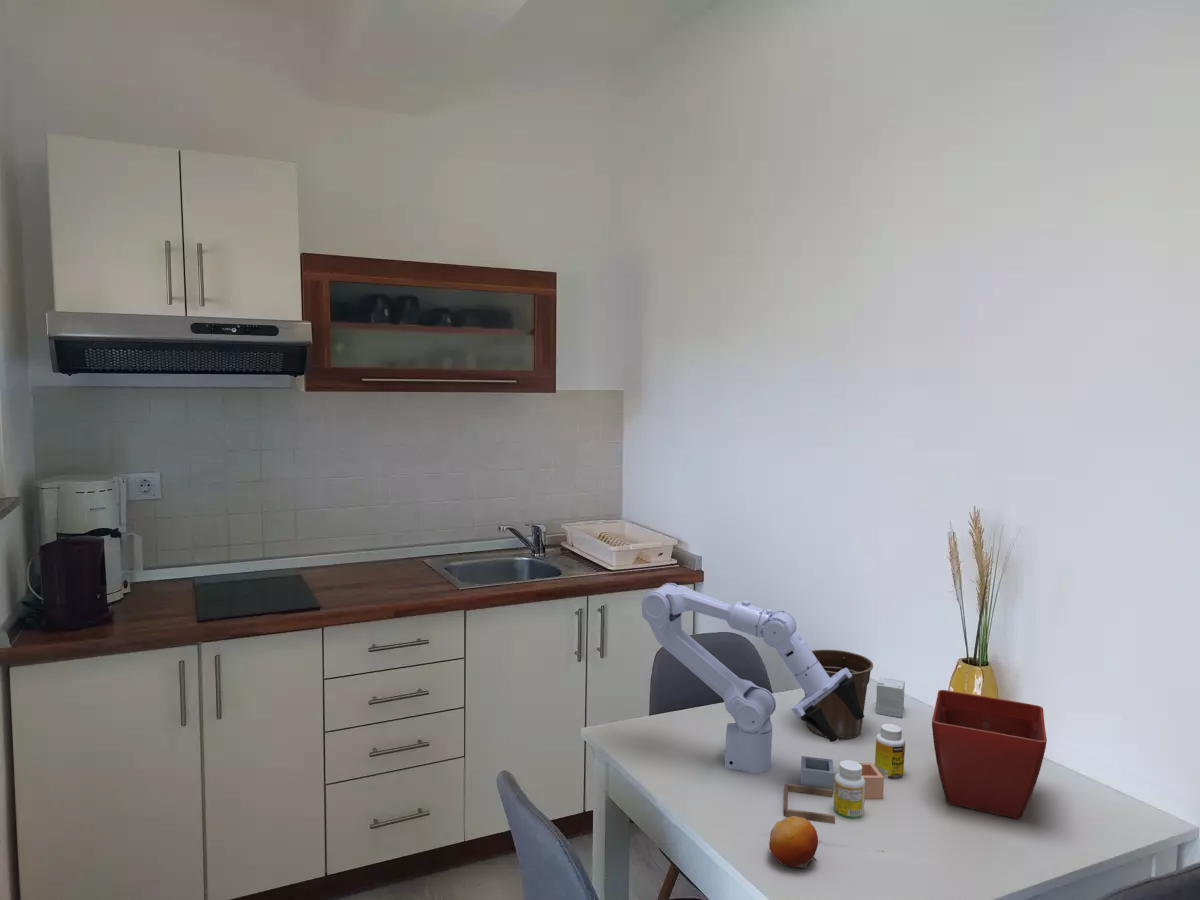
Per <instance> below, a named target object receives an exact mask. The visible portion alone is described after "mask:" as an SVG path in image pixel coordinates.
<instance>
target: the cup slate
mask: <svg viewBox="0 0 1200 900" xmlns="http://www.w3.org/2000/svg"><path fill="white" fill-rule="evenodd" d="M800 759H801V760H800V785H801V786H808V787H816V788H824V789H832V791H833V792H832V796H834V787H835V771H834V761H833V759H830V758H822V757H814V756H813V757H812V756H807V755H806V756H804V755H801V757H800Z"/></svg>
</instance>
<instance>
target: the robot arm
mask: <svg viewBox="0 0 1200 900" xmlns="http://www.w3.org/2000/svg"><path fill="white" fill-rule="evenodd" d="M689 611H691V612H695V613H698V614H703V615H706V616H710V617H712V618H716V619H720V620H724V621H726V622H727V625H728V627H730V628H731V629H732V630H735V631H739V632H741V633H745V634H748V635H751V636H753V637H756V638H759V639H761V638H763V639H762V641H763V642H764V644H766V645H767V646H769V647H772V648H773V649H775V651H776V652H777V653H778V655H779V656H780V658H781V659H782V661H783V662H784V664H785V665H786V667H787V668H788V670H789V671H790V673H791V674H792V675H793V678H794V679H795V680H796V682H797V683H798V685H799V686H800V688H801V689H802V690H803V692H804V694H805V693H806V696H805V695H804V697H803V698H802V699H801V700H800V701H799V702H797V704H796V705H794V706H793V707H791V710H792V713H794V715H795V717H796V718H800V720H802V721H803V722H805V723H806V724H807V723H809V724H810V725H812V726H813V727H815V728H816V729H817V730H818V731H820V732H821V733H822V734H823V735H824V736H825V737H824V736H823V737H824V738H826V739H827V740H828V741H829V742H830V743H833V742H837V741H838V740H839V738H837V736H836V734H835V732H834V731H833V729H832V728H831V727H830V725H829V724H828V722H827V720H826V718H825V716H824V714H823V711H822V709H821V708H816V707H813V706H814V705H815V704H817V703H818V702H819V701H820V700H822V699H823V698H824V697H825V696H827V695H828V694H829V693H830V692H832V691H833V692H834V693H835V694H836V695H837V696H838V697H839V698H840V699H841V700H842V701H843V702H844V703H845V704H846V706H847V707H848V709H849V710H850V712H851V713H852V714H853V716H854V717H855V718H856V719H857V720H859V719H863V720H864V718H865V714H863V712H862V709H861V707H860V704H859V701H858V698H857V693H856V686H855V682H854V680H853V679H850V680H849V678H850V677H852V674H851V673H850V672H849V670H848V669H847V668H844V669H841V670H840V671H839V672H837V673H836V674H835V675H833V676H832V677H829V676H828V674H827V673H826V671H825V670H824V668H823V667H822V665H821V664H820V663H819V661H818V660H817V658H816V657H815V655H814V654H813V652H812V651H813V650H811V648H810V647H809V645H808V644H807V643H806V641H805V640H804V638H803V637H802V636H801V634H800V633H799V631H798V629H797V622H796V619H795V618H794V617H793V616H792V615H791V614H790V613H788V612H786V611H785V610H781V609H780V610H776V611H774V612H773V609H771V608H766V609H765V608H761V607H758V606H756V605H752V604H751V601H749V600H746V599H744V600H743V601H740V600H739V601H736V602H734V603H733V604H730V603H727V602H725V601H722V600H720V599H717V598H715V597H711V596H709V595H706V594H703V593H701V592H699V591H696V590H694V589H691V588H689V587H688V586H686V585H678V584H676V583H674V582H667V583H664V584H662V585H661V586H660V587H658V588H656V589H654V590H653V591H649V592H648V593H646V594H645V595H644V596H643V598H642V600H641V616H642V618H643V619H644V620H645V621H646V622H648V625H649V627H650V628H651V631H652V633H653V635H654V637H655V639H656V641H657V642H658V644H659V645H661V646H662V647H663V648H664V649H665V650H666V651H667V652H669V653H670V654H671V655H672V656H673V657H674V658H676V660H678V661H679V662H680V663H681V664H682V665H683V666H685V667H686V668H687V669H688V670H689V671H690V672H692V673H693V675H695V676H696V677H698V678H699V679H700V680H701V681H702V682H704V684H706V686H708V687H709V688H710V689H711V690H712V691H714V692H715V693H716V694H717V695H718V696H719V697H721V699H723V702H724V706H725V710H726V712H728V713H729V715H730V716H731V717H732V718H733V720H734V722H728V723H727V724H726V731H725V732H726V734H725V749H724V751H723V752H724V754H723V759H724V769H728V770H729V769H730V770H738V771H741V772H746V773H751V774H763V773H766V772H769V771H770V770H771V766H772V741H773V723H772V721H771V716H772V715H773V714H774V712H775V711H776V706H777V702H776V699H775V697H774V695H773V693H771V692H770V690H768V689H766V688H764V687H762V686H761V687H760V686H758V685H756V684H755V683H754V682H752V681H750V680H748V679H743V678H740V677H739V676H737V675H736V674H735V673H734V672H732V670H730V669H729V667H727V666H726V665H724V664H723V663H722V662H721V661H720V660H719V659H717V658H716V657H715V656H714V655H712V653H710V652H709V650H707V649H706V648H704V646H702V645H701V644H700V643H698V642H697V641H696V640H695V639H694V638H693V637H692V636H690V635H689V634H688V633H687V632H685V630H683V627H682V613H686V612H689ZM826 691H827V692H826ZM823 693H824V694H823ZM822 694H823V695H822ZM820 695H822V696H820ZM819 696H820V697H819ZM818 697H819V698H818ZM730 762H732V763H730Z"/></svg>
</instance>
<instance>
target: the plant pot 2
mask: <svg viewBox="0 0 1200 900" xmlns="http://www.w3.org/2000/svg"><path fill="white" fill-rule="evenodd" d="M1044 715H1045V713H1044V708H1043V706H1040V705H1038V704H1037V705H1036V704H1031V703H1025V702H1020V701H1019V702H1018V701H1015V700H1008V699H1002V698H996V697H990V696H984V695H978V694H971V693H965V692H958V691H951V690H946V689H939V690H938V692H937V694H936V701H935V704H934V710H933V714H932V719H931V726H932V727H931V728H932V731H931V732H932V738H933V747H934V754H935V759H936V765H937V766H936V767H937V770H938V774H939V779H940V783H941V787H942V790H943V794H944V797H945V800H946V802H947V803H948V804H950V805H955V806H958V807H959V806H960V807H965V808H968V809H972V810H976V811H977V810H978V811H981V812H987V813H990V814H995V815H1000V816H1003V817H1004V816H1005V817H1009V818H1014V819H1020V818H1022V817H1023V814H1024V813H1025V811H1026V809H1027V806H1028V805H1029V803H1030V802H1029V801H1030V800H1031V797H1032V795H1033V792H1034V789H1035V787H1036V784H1037V781H1038V778H1039V775H1040V773H1041V769H1042V764H1043V762H1044V761H1043V760H1044V757H1045V752H1046V748H1047V741H1048V738H1047V732H1046V724H1045V716H1044Z"/></svg>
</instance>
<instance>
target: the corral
mask: <svg viewBox="0 0 1200 900" xmlns="http://www.w3.org/2000/svg"><path fill="white" fill-rule="evenodd" d="M832 792H833V793H834V790H833V791H832V789H824V788H816V787H808V786H801V784H800V785H799V784H792V783H786V784H784V792H783V793H784V794H783V817H785V818H787V817H791V816H796V817H800V818H801V817H803V818H805V819H807V820H808V821H814V822H821V823H829V824H835V823H836V815H834V814H830V813H823V812H822V813H821V812H820V813H819V812H815V811H814V812H813V811H807V810H797V809H793V808H791V809H790V808H788V795H789V793H795V794H796V793H797V794H804V795H811V796H812V795H813V796H819V797H828V798H833V795H832Z"/></svg>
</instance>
